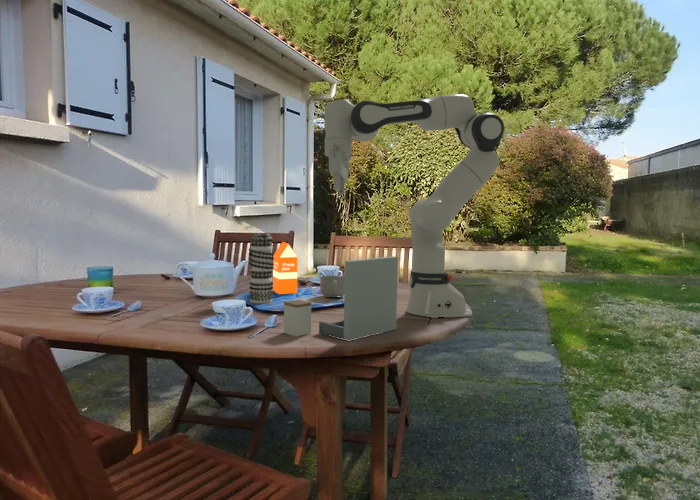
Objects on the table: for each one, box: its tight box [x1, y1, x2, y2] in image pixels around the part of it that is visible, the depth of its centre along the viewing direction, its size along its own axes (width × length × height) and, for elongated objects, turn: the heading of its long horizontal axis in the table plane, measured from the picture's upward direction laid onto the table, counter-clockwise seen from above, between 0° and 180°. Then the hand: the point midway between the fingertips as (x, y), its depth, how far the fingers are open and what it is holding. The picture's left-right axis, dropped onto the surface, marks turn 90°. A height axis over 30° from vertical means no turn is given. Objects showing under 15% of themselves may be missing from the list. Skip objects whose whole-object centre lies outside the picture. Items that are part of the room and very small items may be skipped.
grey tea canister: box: [283, 299, 312, 337], centre depth 161 cm, size 6×6×9 cm
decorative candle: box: [248, 232, 275, 304], centre depth 206 cm, size 9×9×25 cm
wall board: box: [318, 255, 399, 340], centre depth 163 cm, size 20×12×22 cm, turn 136°
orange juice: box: [272, 241, 298, 295], centre depth 226 cm, size 8×9×20 cm
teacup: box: [319, 274, 345, 298], centre depth 217 cm, size 14×11×8 cm
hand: (339, 191), depth 183 cm, fingers open, 8 cm apart
